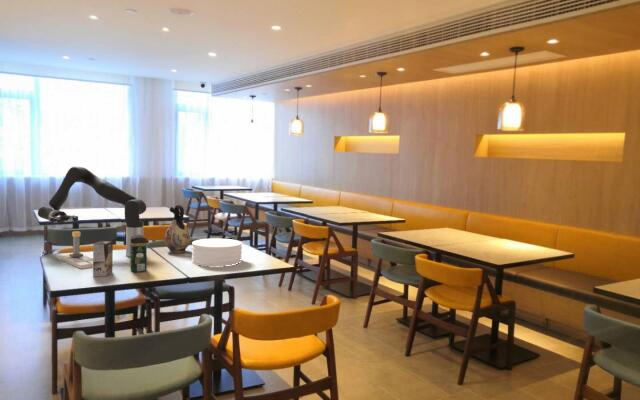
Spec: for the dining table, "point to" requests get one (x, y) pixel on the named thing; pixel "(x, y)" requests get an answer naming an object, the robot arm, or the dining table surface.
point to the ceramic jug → (177, 232)
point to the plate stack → (216, 252)
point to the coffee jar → (138, 253)
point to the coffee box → (102, 258)
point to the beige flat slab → (78, 261)
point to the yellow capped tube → (76, 244)
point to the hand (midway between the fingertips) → (68, 220)
